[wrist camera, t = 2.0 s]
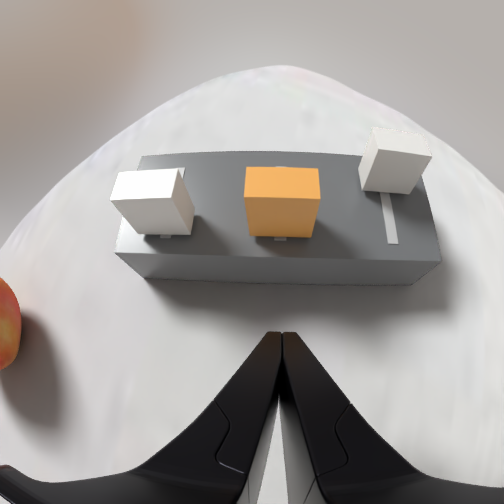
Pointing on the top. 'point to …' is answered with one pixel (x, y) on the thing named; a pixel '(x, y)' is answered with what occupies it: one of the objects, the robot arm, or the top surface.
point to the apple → (9, 325)
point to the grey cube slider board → (287, 248)
